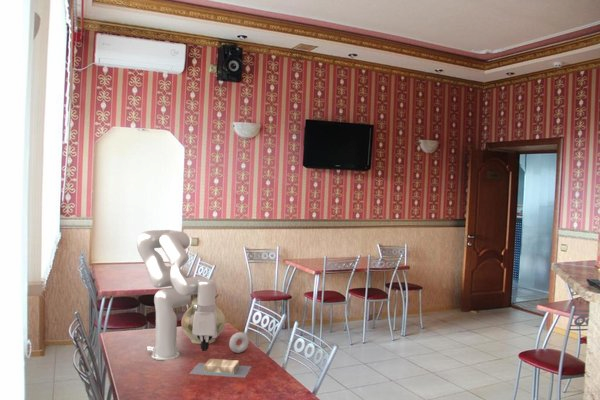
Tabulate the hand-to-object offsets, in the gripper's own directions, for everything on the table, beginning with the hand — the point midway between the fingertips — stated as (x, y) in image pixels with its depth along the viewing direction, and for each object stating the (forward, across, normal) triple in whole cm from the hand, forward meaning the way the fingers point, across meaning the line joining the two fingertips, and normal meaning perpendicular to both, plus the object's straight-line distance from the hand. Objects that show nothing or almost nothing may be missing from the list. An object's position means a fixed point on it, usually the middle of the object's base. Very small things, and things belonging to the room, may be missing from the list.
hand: (204, 350), depth 223 cm
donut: (+9, +10, +26) cm, 29 cm away
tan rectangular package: (+6, +1, 0) cm, 7 cm away
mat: (+8, +8, 0) cm, 11 cm away
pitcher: (+9, -14, +42) cm, 45 cm away
